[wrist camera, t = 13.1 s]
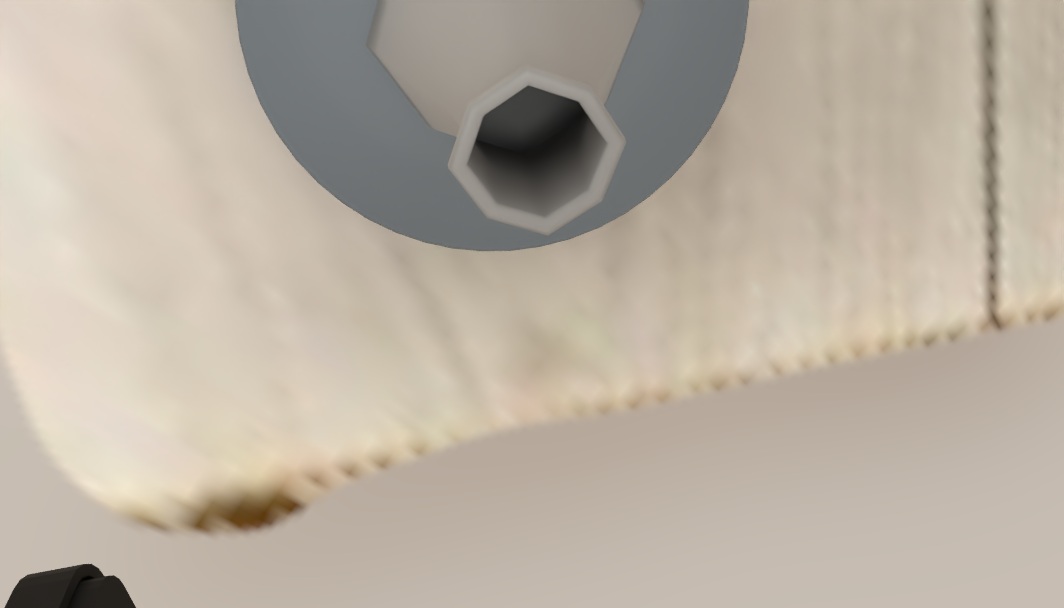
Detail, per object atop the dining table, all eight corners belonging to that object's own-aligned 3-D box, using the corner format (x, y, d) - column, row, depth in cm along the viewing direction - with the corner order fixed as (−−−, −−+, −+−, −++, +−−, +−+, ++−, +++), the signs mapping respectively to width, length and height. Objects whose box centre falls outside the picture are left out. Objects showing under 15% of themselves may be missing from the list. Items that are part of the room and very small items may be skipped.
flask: (476, -184, 25) (499, -138, 16) (689, -6, 27) (806, 116, 19) (320, 49, 27) (267, 196, 19) (529, 191, 30) (566, 378, 21)
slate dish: (719, -324, 25) (729, -326, 24) (754, 189, 32) (763, 202, 31) (165, -209, 25) (155, -207, 24) (323, 274, 32) (320, 290, 31)
